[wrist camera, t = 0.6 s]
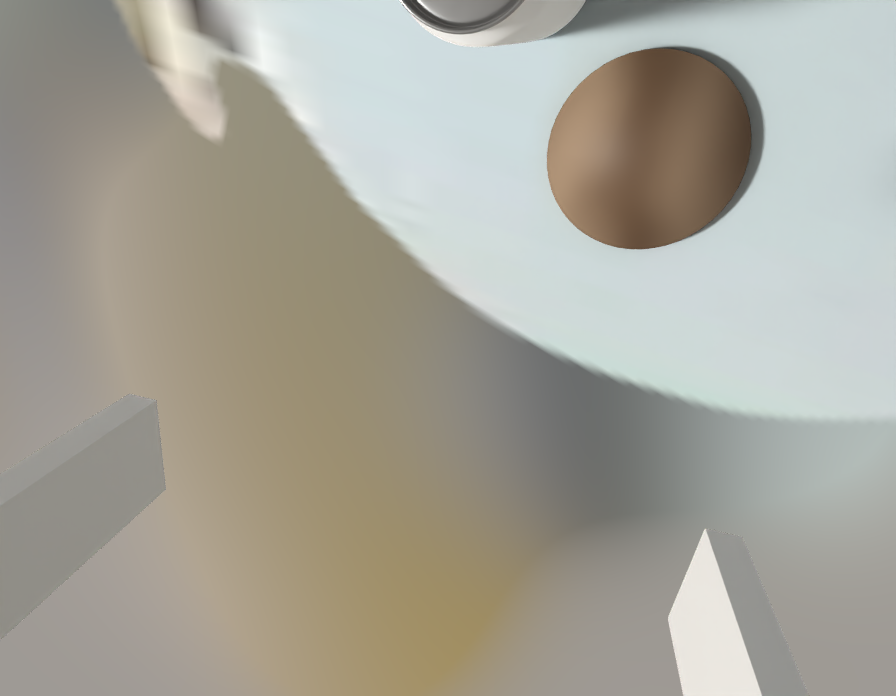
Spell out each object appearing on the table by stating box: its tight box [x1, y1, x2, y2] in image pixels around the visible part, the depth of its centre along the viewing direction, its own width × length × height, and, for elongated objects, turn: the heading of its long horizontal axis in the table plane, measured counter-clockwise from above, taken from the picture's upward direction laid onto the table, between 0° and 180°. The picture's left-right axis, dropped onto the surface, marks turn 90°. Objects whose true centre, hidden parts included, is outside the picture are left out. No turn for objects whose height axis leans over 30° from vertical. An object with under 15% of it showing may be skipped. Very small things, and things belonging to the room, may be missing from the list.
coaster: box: [547, 48, 751, 249], centre depth 29 cm, size 10×10×1 cm
